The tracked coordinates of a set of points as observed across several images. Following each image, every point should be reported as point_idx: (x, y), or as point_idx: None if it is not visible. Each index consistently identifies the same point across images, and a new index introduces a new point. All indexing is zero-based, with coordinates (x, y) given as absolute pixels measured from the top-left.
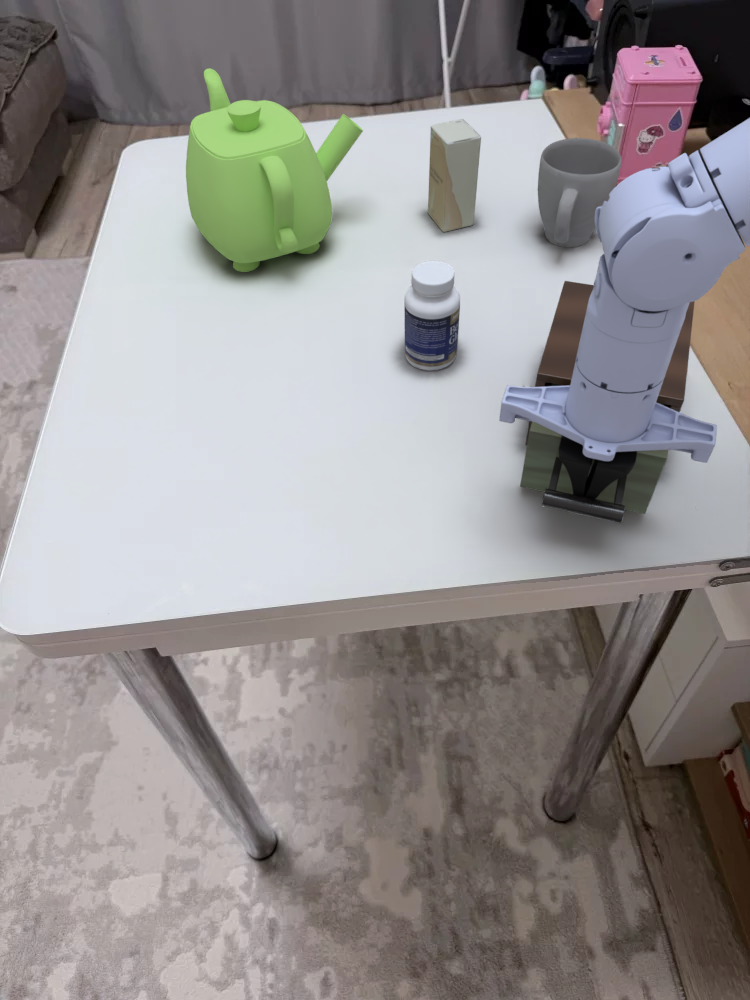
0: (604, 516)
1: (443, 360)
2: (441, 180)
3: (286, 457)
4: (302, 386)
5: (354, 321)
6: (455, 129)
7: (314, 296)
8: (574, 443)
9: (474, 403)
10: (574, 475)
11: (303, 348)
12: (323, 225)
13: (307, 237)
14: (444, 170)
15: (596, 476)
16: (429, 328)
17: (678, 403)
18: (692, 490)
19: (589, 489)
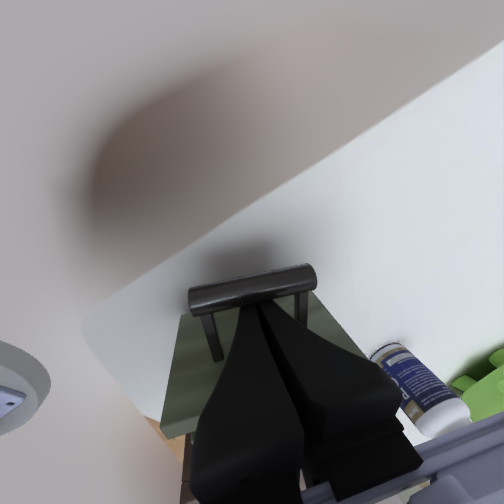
0: (216, 286)
1: (384, 359)
2: None
3: (497, 222)
4: (475, 291)
5: (434, 353)
6: None
7: (458, 355)
8: (363, 424)
9: (351, 338)
10: (300, 333)
11: (470, 319)
12: (481, 408)
13: (486, 395)
14: (422, 485)
15: (265, 354)
16: (431, 390)
17: (186, 490)
18: (153, 355)
19: (257, 317)
